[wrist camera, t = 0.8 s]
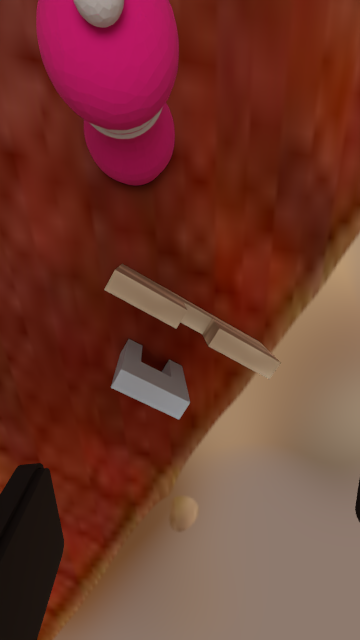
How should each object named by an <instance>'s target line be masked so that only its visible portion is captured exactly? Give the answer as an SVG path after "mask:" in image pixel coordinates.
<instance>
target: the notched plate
mask: <svg viewBox="0 0 360 640" xmlns="http://www.w3.org/2000/svg"><path fill="white" fill-rule="evenodd" d="M142 347H143V346H142V345H140V344H138V343H136V342H134V341H132V340H130V339H128V341H127V343H126V344H125V346H124V348H123V350H122V351H121V353H120V357H119V360H118V364H117V367H116V371H115V374H114V378H113V381H112V385H111V388H113V389H115V390H117V391H119V392H121V393H123V394H125V395H128V396H130V397H132V398H134V399H136V400H138V401H140V402H143V403H145V404H147V405H149V406H151V407H153V408H155V409H157V410H160V411H162V412H164V413H166V414H168V415H170V416H172V417H175V418H177V419H180V417H181V416H182V414H183V413H184V411H185V410H186V408H187V407H188V405H189V404H190V400H189V395H188V391H187V386H186V381H185V377H184V372H183V368H182V366H181V365H179V364H177V363H175V362H173V361H171V360H169V361H168V362H167V364H166V365H165V367H164V369H163V370H162V372H160V371H158V370H156V369H154V368H152V367H150V366H148V365H146V364H144V363H142V362H141V356H142Z"/></svg>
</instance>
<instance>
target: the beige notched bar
mask: <svg viewBox="0 0 360 640" xmlns="http://www.w3.org/2000/svg"><path fill="white" fill-rule="evenodd" d="M104 290H105V291H107V292H109V293H111V294H113V295H115V296H117V297H118V298H120V299H122V300H124V301H126V302H128V303H129V304H131V305H133V306H135V307H137V308H139V309H141V310H142V311H144V312H146V313H148V314H150V315H152V316H153V317H155V318H157V319H159V320H161V321H163V322H165V323H166V324H168V325H170V326H172V327H174V328H176V329H177V327H178V325H179V324H180V322H181V323H182V324H184V325H186V326H188V327H190V328H192V329H193V330H195V331H197V332H199V333H201V334H202V335H203V337H204V339H205V341H206V343H207V345H208V346H209V347H211V348H213V349H214V350H216V351H218V352H220V353H222V354H224V355H225V356H227V357H229V358H231V359H233V360H235V361H237V362H238V363H240V364H242V365H244V366H246V367H248V368H249V369H251V370H253V371H255V372H257V373H259V374H261V375H262V376H264V377H266V378H268V379H270V378H271V376H272V375H273V373H274V372H275V371H276V369H277V368H278V367H279V365H280V364H281V362H279V360H278V359H276V358H275V357H274V356H273V355H272V354H271V353H270V352H269V351H268V350H267V349H266V348H265V347H264V346H263V345H262V344H261V343H260V342H259V341H257V340H255V339H254V338H252V337H250V336H248V335H247V334H245V333H243V332H241V331H240V330H238V329H236V328H234V327H233V326H231V325H229V324H227V323H226V322H224V321H222V320H220V319H218V318H217V317H215V316H213V315H211V314H210V313H208V312H206V311H204V310H203V309H201V308H199V307H197V306H196V305H194V304H192V303H190V302H189V301H187V300H185V299H183V298H182V297H180V296H178V295H176V294H175V293H173V292H171V291H169V290H168V289H166V288H164V287H162V286H161V285H159V284H157V283H155V282H154V281H152V280H150V279H148V278H147V277H145V276H143V275H141V274H140V273H138V272H136V271H134V270H133V269H131V268H129V267H127V266H126V265H124V264H121V265H120V266H119V267H118V268H117V269H115V271H114V273H113V275H112V276H111V278H110V280H109V282H108V284H107V286H106V288H105V289H104Z"/></svg>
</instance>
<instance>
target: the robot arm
mask: <svg viewBox="0 0 360 640" xmlns="http://www.w3.org/2000/svg"><path fill="white" fill-rule="evenodd" d="M355 508H356V509H355V510H356V514H357V518H358V520H359V522H360V480H359V487H358V493H357V500H356V507H355ZM63 548H64V538H63V533H62V528H61V523H60V519H59V514H58V509H57V504H56V499H55V494H54V489H53V485H52V480H51V475H50V471H49V469H48V468H44V467H43V465H42V464H41V463H37V464H26V465H20V466H18V467H17V468H16V470H15V471H14V473H13V475H12V476H11V478H10V479H9V481H8V483H7V484H6V486H5V488H4V489H3V491H2V493H1V494H0V640H37V637H38V634H39V631H40V627H41V624H42V621H43V617H44V614H45V611H46V607H47V604H48V601H49V597H50V594H51V591H52V587H53V584H54V581H55V577H56V574H57V571H58V567H59V564H60V561H61V557H62V554H63Z"/></svg>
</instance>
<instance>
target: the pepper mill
mask: <svg viewBox="0 0 360 640" xmlns="http://www.w3.org/2000/svg"><path fill="white" fill-rule="evenodd" d="M37 37H38V44H39V49H40V53H41V57H42V60H43V64H44V66H45V69H46V71H47V73H48V76H49V78H50V80H51V82H52V83H53V85H54V87H55V89H56V91H57V92H58V94H59V95H60V96H61V97H62V99H63V100H64V101H65V103H66V104H67V105H68V106H69V107H70V108H71V109H72V110H73V111H74V112H75V113H76V114H78V115H79V116H80V117H82V118H83V119H84V135H85V140H86V144H87V147H88V149H89V151H90V154H91V156H92V158H93V160H94V161H95V163H96V164H97V165H98V167H99V168H100V169H101V170H102V171H103V172H104V173H105V174H107V175H108V176H109V177H111V178H113V179H114V180H116V181H119V182H122V183H125V184H128V185H134V186H138V185H143V184H146V183H149V182H151V181H152V180H154V179H155V178H156V177H157V176H158V175H159V174H160V173H161V172H162V171H163V170H164V169H165V167H166V166H167V164H168V163H169V161H170V159H171V156H172V153H173V149H174V143H175V132H174V123H173V118H172V115H171V112H170V110H169V107H168V105H167V104H166V101H167V100H168V98H169V96H170V93H171V90H172V88H173V85H174V81H175V78H176V74H177V70H178V57H179V39H178V33H177V27H176V22H175V18H174V14H173V10H172V7H171V5H170V3H169V0H38V6H37Z"/></svg>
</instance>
